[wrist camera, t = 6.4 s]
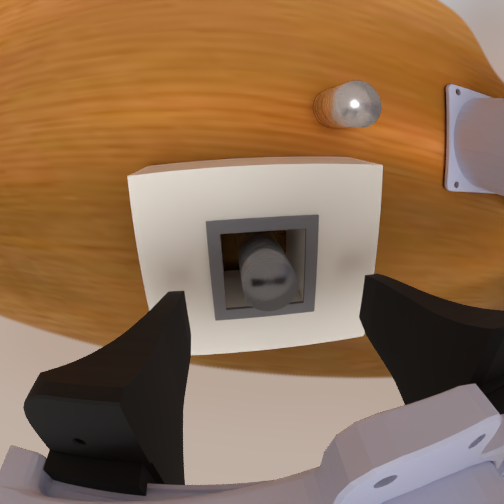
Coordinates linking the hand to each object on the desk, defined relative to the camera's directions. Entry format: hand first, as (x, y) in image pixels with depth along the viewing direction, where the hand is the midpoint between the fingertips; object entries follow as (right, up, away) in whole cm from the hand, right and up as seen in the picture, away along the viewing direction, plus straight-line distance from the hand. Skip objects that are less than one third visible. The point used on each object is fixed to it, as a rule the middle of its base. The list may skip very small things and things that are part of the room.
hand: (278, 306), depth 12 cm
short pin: (+4, +11, +5) cm, 12 cm away
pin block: (-1, +3, +7) cm, 8 cm away
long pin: (-1, +3, +7) cm, 8 cm away
